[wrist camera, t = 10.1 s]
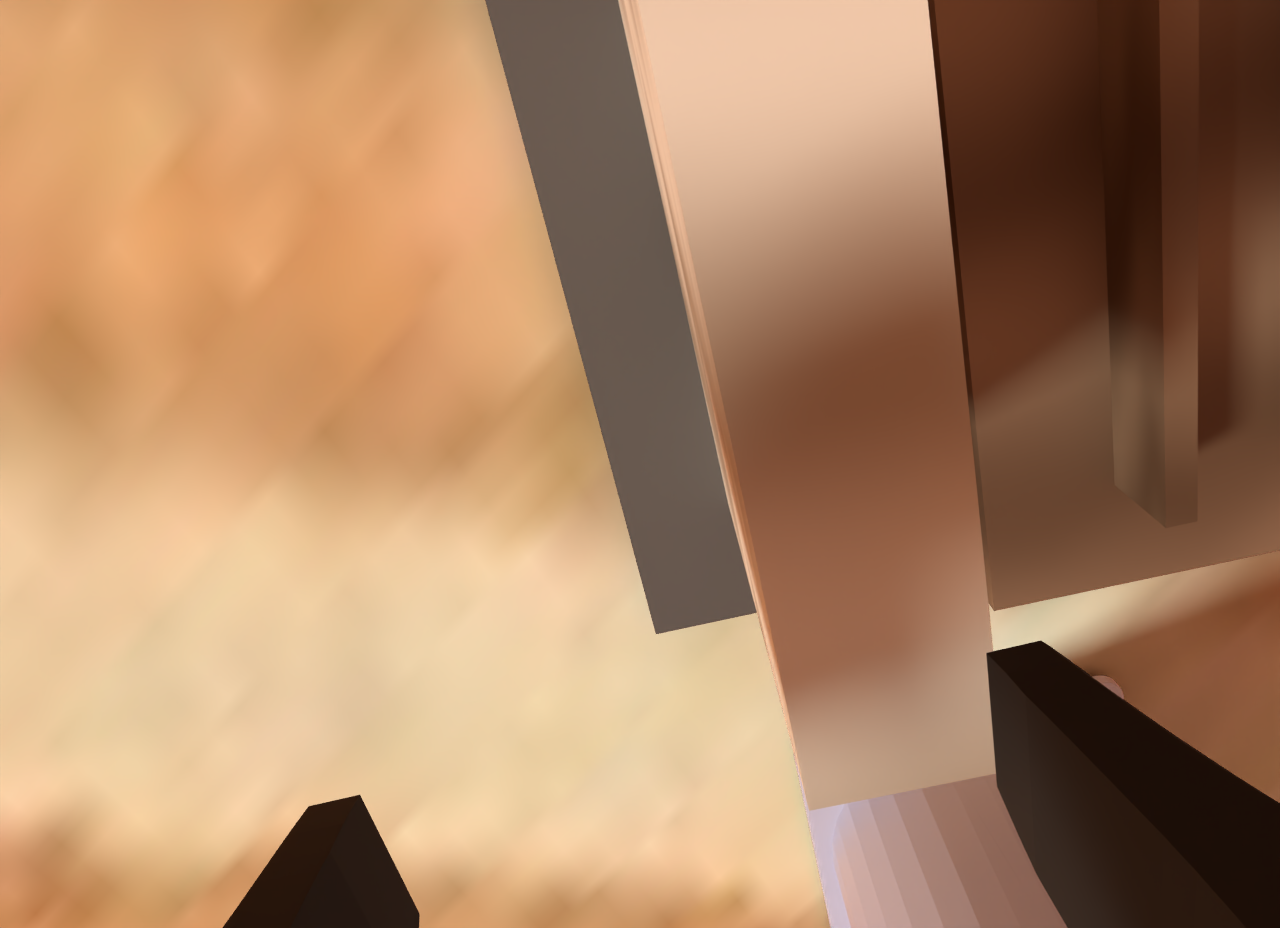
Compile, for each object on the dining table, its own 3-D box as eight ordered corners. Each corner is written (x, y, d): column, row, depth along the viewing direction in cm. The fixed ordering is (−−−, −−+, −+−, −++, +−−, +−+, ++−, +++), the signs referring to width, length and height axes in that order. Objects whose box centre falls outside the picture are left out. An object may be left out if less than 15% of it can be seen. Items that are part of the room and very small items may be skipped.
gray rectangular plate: (952, 555, 22) (961, 568, 21) (654, 619, 22) (656, 634, 22) (855, -283, 15) (864, -296, 15) (443, -170, 16) (437, -178, 15)
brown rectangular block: (843, 478, 20) (1005, 771, 12) (728, 504, 20) (809, 810, 12) (759, -38, 16) (913, -138, 8) (618, -1, 16) (624, -62, 8)
